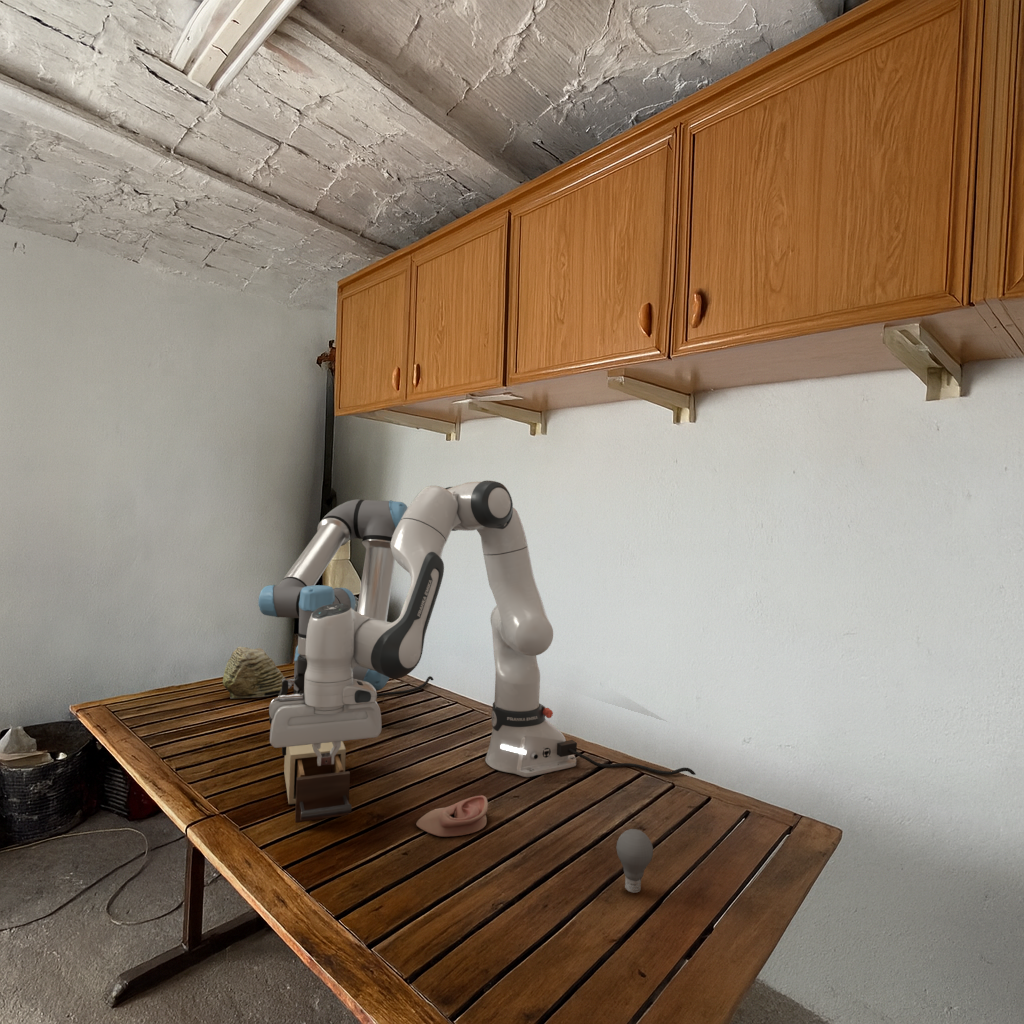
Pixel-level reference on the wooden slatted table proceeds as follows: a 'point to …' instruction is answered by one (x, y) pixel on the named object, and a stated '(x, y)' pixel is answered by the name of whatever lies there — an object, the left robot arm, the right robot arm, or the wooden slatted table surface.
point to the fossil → (251, 674)
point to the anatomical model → (456, 818)
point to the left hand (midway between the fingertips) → (311, 750)
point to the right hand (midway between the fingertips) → (325, 764)
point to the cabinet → (304, 752)
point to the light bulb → (634, 857)
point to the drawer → (320, 790)
